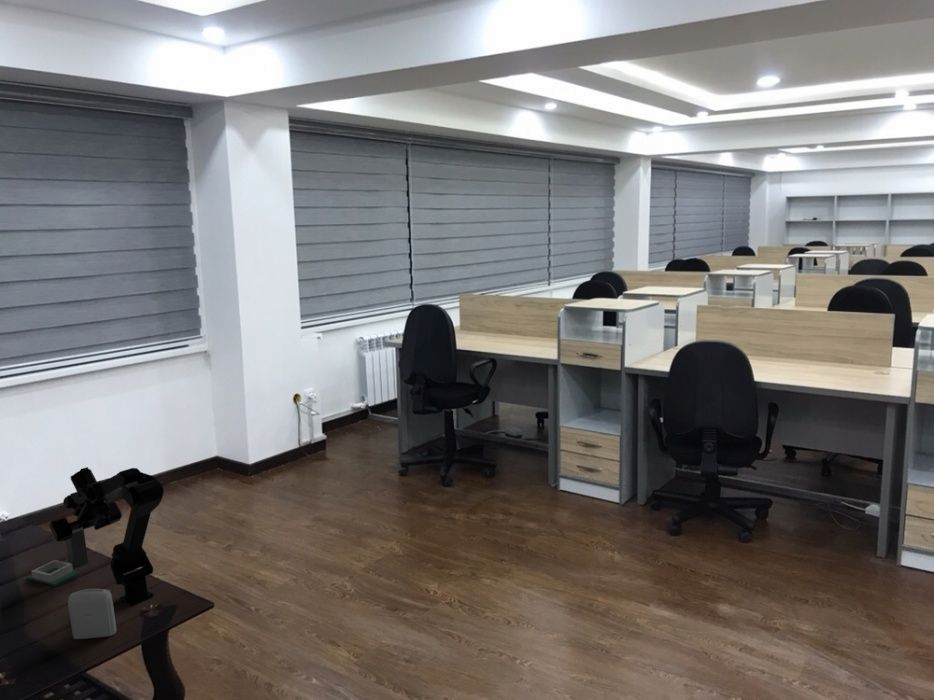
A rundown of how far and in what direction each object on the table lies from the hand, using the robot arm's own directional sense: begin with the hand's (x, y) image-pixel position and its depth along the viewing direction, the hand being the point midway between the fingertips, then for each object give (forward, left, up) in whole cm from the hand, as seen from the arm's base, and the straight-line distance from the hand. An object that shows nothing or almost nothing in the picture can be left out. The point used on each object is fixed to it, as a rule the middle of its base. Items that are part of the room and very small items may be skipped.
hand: (79, 534), depth 223 cm
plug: (+4, 0, -11) cm, 11 cm away
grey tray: (+2, +8, -11) cm, 14 cm away
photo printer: (-40, +17, -11) cm, 44 cm away
